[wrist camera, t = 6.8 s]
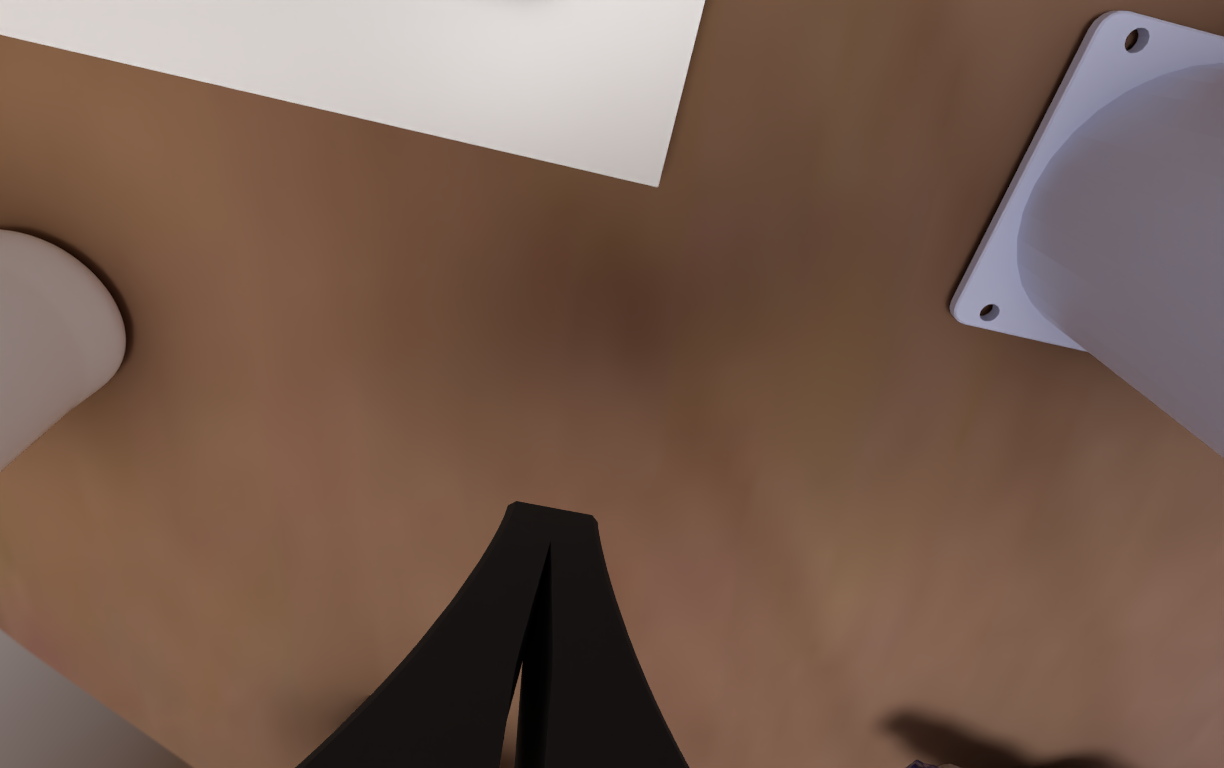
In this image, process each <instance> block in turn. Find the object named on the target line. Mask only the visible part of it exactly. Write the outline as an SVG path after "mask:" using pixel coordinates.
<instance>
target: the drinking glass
mask: <svg viewBox="0 0 1224 768" xmlns="http://www.w3.org/2000/svg"><path fill="white" fill-rule="evenodd" d="M125 348H126V333H125V327H124V323H123V319H122V316H121V314H120V311H119V309H118V307H117V304H116V303H115V301H114V299H113V297H112V296H111V294H110V293H109V291H108V290H107V288H106V287H105V286H104V285H103V283H102V282H101V281H100V280H99V279H98V278H97V276H96V275H95V274H94V273H93V272H92V271H91V270H89V269H88V268H87V267H86V266H85V265H84V264H83V263H81V262H80V261H79V260H78V259H76V258H75V257H73V256H72V255H70V254H69V253H67V252H66V251H64V250H63V249H61V248H59V247H57V246H55V245H54V244H51V243H49V242H47V241H45V240H43V239H40V238H37V237H35V236H31V235H28V234H24V233H20V232H16V231H9V230H1V229H0V472H2V471H3V470H4V469H5V468H6V467H7V466H8V465H9V464H10V463H12V462H13V461H14V460H15V459H16V458H17V457H18V456H19V455H21V454H22V453H23V452H24V451H25V450H26V449H27V448H28V447H30V446H31V445H32V444H33V443H34V442H35V441H36V440H37V439H39V438H40V437H41V436H42V435H43V434H44V433H45V432H46V431H48V430H49V429H50V428H51V427H52V426H53V425H54V424H56V423H57V422H58V421H59V420H60V419H61V418H62V417H64V416H65V415H66V414H67V413H68V412H69V411H71V410H72V409H73V408H75V407H76V406H77V405H79V404H80V403H81V402H83V401H84V400H86V399H87V398H88V397H90V396H91V395H92V394H94V393H95V392H96V391H98V390H99V389H100V388H102V387H103V386H104V385H105V384H106V383H107V382H108V381H110V380H111V378H112V377H113V376H114V375H115V373H116V372H117V371H118V369H119V367H120V365H121V363H122V360H123V358H124V354H125Z"/></svg>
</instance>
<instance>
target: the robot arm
mask: <svg viewBox="0 0 1224 768" xmlns="http://www.w3.org/2000/svg"><path fill="white" fill-rule="evenodd" d="M1135 29H1136V30H1137V31H1138V35H1139V36H1138V40H1137V43H1136V44H1135V45H1134V46H1133V47H1132V48H1131V49H1130V50H1128V51H1126V49H1125V45H1124V44H1125V41H1126V37H1127V36H1128V35H1129V34H1130V32H1131V31H1133V30H1135ZM989 304H993V308H992V310H991V311H990V312H989V313H988V314H986V315H984V316H980V312H981V310H982V309H983V308H984V307H985V306H987V305H989ZM950 313H951V314H952V315H953V317H954V318H955V319H956V320H957V321H958V322H960V323H962V324H965V325H970V326H974V327H979V328H983V329H988V330H992V331H996V332H1001V333H1005V334H1010V335H1014V336H1019V337H1023V338H1028V339H1032V340H1037V341H1041V342H1046V343H1050V344H1054V345H1059V346H1063V347H1068V348H1072V349H1077V350H1081V351H1086V352H1089V353H1090V354H1091V355H1093V356H1094V357H1095V358H1096V359H1098V360H1099V361H1100V362H1102V363H1103V364H1104V365H1105V366H1107V367H1108V368H1109V369H1110V370H1112V371H1113V372H1114V373H1116V374H1117V375H1118V376H1119V377H1121V378H1122V379H1123V380H1125V381H1126V382H1127V383H1128V384H1130V385H1131V386H1132V387H1133V388H1135V389H1136V390H1137V391H1139V392H1140V393H1141V394H1142V395H1144V396H1145V397H1146V398H1148V399H1149V400H1150V401H1151V402H1153V403H1154V404H1155V405H1156V406H1158V407H1159V408H1160V409H1162V410H1163V411H1164V412H1165V413H1167V414H1168V415H1169V416H1171V417H1172V418H1173V419H1174V420H1176V421H1177V422H1178V423H1179V424H1181V425H1182V426H1183V427H1185V428H1186V429H1187V430H1188V431H1190V432H1191V433H1192V434H1194V435H1195V436H1196V437H1197V438H1199V439H1200V440H1201V441H1202V442H1204V443H1205V444H1206V445H1208V446H1209V447H1210V448H1211V449H1213V450H1214V451H1215V452H1217V453H1218V454H1219V455H1220V456H1222V457H1223V458H1224V37H1223V36H1219V35H1216V34H1212V33H1208V32H1204V31H1201V30H1197V29H1193V28H1190V27H1186V26H1182V25H1179V24H1175V23H1171V22H1167V21H1164V20H1160V19H1156V18H1153V17H1149V16H1145V15H1141V14H1138V13H1134V12H1130V11H1109V12H1107V13H1104V14H1102V15H1101V16H1100V17H1098V18H1097V19H1096V20H1095V21H1094V22H1093V23H1092V25H1091V26H1090V28H1089V29H1088V31H1087V33H1086V35H1085V37H1084V39H1083V41H1082V43H1081V45H1080V47H1079V49H1078V51H1077V53H1076V55H1075V57H1074V59H1073V61H1072V63H1071V65H1070V67H1069V69H1068V71H1067V73H1066V75H1065V77H1064V79H1063V81H1062V83H1061V85H1060V87H1059V88H1058V90H1057V92H1056V94H1055V96H1054V98H1053V100H1052V102H1051V104H1050V106H1049V108H1048V110H1047V112H1046V114H1045V116H1044V118H1043V120H1042V122H1041V124H1040V126H1039V128H1038V130H1037V132H1036V134H1035V136H1034V138H1033V140H1032V142H1031V144H1030V146H1029V148H1028V150H1027V152H1026V154H1025V156H1024V158H1023V160H1022V162H1021V164H1020V166H1019V168H1018V170H1017V172H1016V174H1015V176H1014V178H1013V179H1012V181H1011V183H1010V185H1009V187H1008V189H1007V191H1006V193H1005V195H1004V197H1003V199H1002V201H1001V203H1000V205H999V207H998V209H997V211H996V213H995V215H994V217H993V219H992V221H991V223H990V225H989V227H988V229H987V231H986V233H985V235H984V237H983V239H982V241H981V243H980V245H979V247H978V249H977V251H976V253H975V255H974V257H973V259H972V261H971V263H970V265H969V267H968V268H967V270H966V272H965V274H964V276H963V278H962V280H961V282H960V284H959V286H958V288H957V290H956V292H955V294H954V296H953V298H952V300H951V303H950ZM522 661H523V664H522ZM521 665H522V676H521V689H520V702H519V715H518V728H517V742H516V755H515V768H689V766H688V764H687V762H686V761H685V759H684V757H683V755H682V753H681V751H680V750H679V748H678V746H677V744H676V742H675V740H674V738H673V736H672V734H671V732H670V730H669V728H668V726H667V724H666V722H665V720H664V718H663V716H662V714H661V711H660V709H659V707H658V705H657V703H656V701H655V699H654V696H653V694H652V692H651V690H650V687H649V685H648V683H647V680H646V678H645V676H644V673H643V671H642V668H641V666H640V664H639V661H638V659H637V656H636V654H635V651H634V649H633V646H632V643H631V641H630V638H629V636H628V633H627V630H626V627H625V624H624V621H623V618H622V615H621V613H620V610H619V607H618V604H617V601H616V598H615V595H614V591H613V588H612V585H611V581H610V578H609V574H608V571H607V567H606V563H605V559H604V555H603V551H602V546H601V541H600V536H599V530H598V522H597V521H596V520H595V518H594V517H593V516H592V515H588V514H582V513H577V512H572V511H566V510H561V509H556V508H550V507H545V506H540V505H534V504H529V503H524V502H518V501H516V502H514V503H512V504H510V505H508V507H507V510H506V513H505V516H504V518H503V520H502V522H501V524H500V526H499V528H498V530H497V532H496V534H495V536H494V538H493V539H492V541H491V543H490V545H489V546H488V548H487V549H486V551H485V553H484V554H483V556H482V558H481V559H480V561H479V562H478V564H477V565H476V567H475V568H474V570H473V571H472V573H471V574H470V575H469V577H468V578H467V580H466V581H465V583H464V584H463V586H462V587H461V588H460V590H459V591H458V593H457V594H456V596H455V597H454V598H453V600H452V601H451V602H450V604H449V605H448V606H447V607H446V609H445V610H444V611H443V612H442V614H441V615H440V616H439V618H438V619H437V620H436V621H435V623H434V624H433V625H432V626H431V628H430V629H429V630H428V631H427V633H426V634H425V635H424V636H423V638H422V639H421V640H420V641H419V643H418V644H417V645H416V646H415V647H414V648H413V650H412V651H411V652H410V653H409V654H408V655H407V656H406V658H405V659H404V660H403V661H402V662H401V663H400V664H399V666H398V667H397V668H396V669H395V670H394V671H393V672H392V673H391V674H390V675H389V676H388V678H387V679H386V680H385V681H384V682H383V683H382V684H381V685H380V686H379V687H378V688H377V689H376V690H375V691H374V693H373V694H372V695H371V696H370V697H369V698H368V699H367V700H366V701H365V702H364V703H363V704H362V705H361V706H360V707H359V708H358V709H357V710H356V711H355V712H354V713H353V714H352V715H351V716H350V717H349V718H348V719H347V720H346V721H345V722H344V723H343V724H342V725H341V726H340V727H339V728H338V729H337V730H336V731H335V732H334V733H332V734H331V735H330V736H329V737H328V738H327V739H326V740H325V741H324V742H323V743H322V744H321V745H320V746H319V747H318V748H317V749H316V750H314V751H313V752H312V753H311V754H310V755H309V756H308V757H307V758H306V759H305V760H304V761H302V762H301V763H300V764H299V765H298V766H297V767H295V768H499V765H500V759H501V753H502V746H503V740H504V734H505V727H506V721H507V717H508V714H509V710H510V706H511V702H512V699H513V695H514V691H515V687H516V684H517V680H518V676H519V672H520V669H521Z"/></svg>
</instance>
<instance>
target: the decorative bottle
mask: <svg viewBox="0 0 1224 768" xmlns="http://www.w3.org/2000/svg"><path fill="white" fill-rule="evenodd" d="M906 768H961V767H958V766H956V765H953V764H944V765H941V766H938V767H937V766H935V765H930V764H926V763H923V762H921V761H919V760H916V761H914V762H913V763H912V764H910V765H909V766H907V767H906Z"/></svg>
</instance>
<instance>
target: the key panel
mask: <svg viewBox="0 0 1224 768" xmlns="http://www.w3.org/2000/svg"><path fill="white" fill-rule="evenodd" d="M704 3H705V0H0V35H4V36H9V37H13V38H17V39H22V40H26V41H30V42H35V43H39V44H43V45H47V46H52V47H56V48H60V49H65V50H69V51H73V52H78V53H82V54H86V55H90V56H95V57H99V58H103V59H108V60H112V61H116V62H121V63H125V64H129V65H134V66H138V67H142V68H146V69H151V70H155V71H159V72H164V73H168V74H172V75H177V76H181V77H185V78H189V79H194V80H198V81H202V82H207V83H211V84H215V85H220V86H224V87H228V88H232V89H237V90H241V91H245V92H250V93H254V94H258V95H263V96H267V97H271V98H275V99H280V100H284V101H288V102H293V103H297V104H301V105H306V106H310V107H314V108H318V109H323V110H327V111H331V112H336V113H340V114H344V115H349V116H353V117H357V118H361V119H366V120H370V121H374V122H379V123H383V124H387V125H392V126H396V127H400V128H404V129H409V130H413V131H417V132H422V133H426V134H430V135H435V136H439V137H443V138H448V139H452V140H456V141H460V142H465V143H469V144H473V145H478V146H482V147H486V148H491V149H495V150H499V151H503V152H508V153H512V154H516V155H521V156H525V157H529V158H534V159H538V160H542V161H546V162H551V163H555V164H559V165H564V166H568V167H572V168H577V169H581V170H585V171H589V172H594V173H598V174H602V175H607V176H611V177H615V178H620V179H624V180H628V181H632V182H637V183H641V184H645V185H650V186H654V187H658V186H659V182H660V178H661V174H662V170H663V166H664V162H665V158H666V154H667V150H668V146H669V142H670V138H671V134H672V130H673V126H674V122H675V118H676V114H677V110H678V106H679V102H680V98H681V94H682V90H683V86H684V82H685V78H686V75H687V71H688V67H689V63H690V59H691V55H692V51H693V47H694V43H695V39H696V35H697V31H698V27H699V23H700V19H701V15H702V11H703V7H704Z"/></svg>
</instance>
